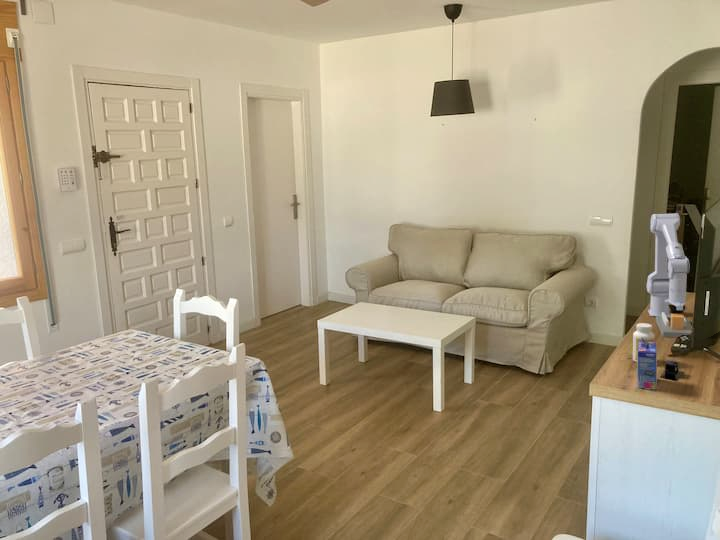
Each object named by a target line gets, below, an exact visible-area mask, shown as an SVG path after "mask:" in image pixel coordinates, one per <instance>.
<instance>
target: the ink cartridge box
mask: <svg viewBox="0 0 720 540" xmlns="http://www.w3.org/2000/svg"><path fill="white" fill-rule="evenodd" d="M657 352H658V351H657V344H656V341H655V342H646V341H645V340H644V339H643V338H642V341H638V346H637V362H636V366H637V367H636V368H637V369H636V370H637V371H636V375H637V388H638V387H639V388H638V389H641V388H645V389H644V390H651V389H653V390H652V391H657V390H658V371H657V370H658V358H657V357H658V353H657Z"/></svg>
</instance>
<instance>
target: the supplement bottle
mask: <svg viewBox="0 0 720 540" xmlns="http://www.w3.org/2000/svg"><path fill="white" fill-rule="evenodd" d="M652 329H653V326H652V324H649V323H645V322H639V323H637V324H636V330H635V331H634V332H633V333H632V361H634V362H635V363H637V346H638V341H642V338H643V339H644V340H645V341H646V342H656V338H655V337H656V335H655V333H654V332H652Z"/></svg>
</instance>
